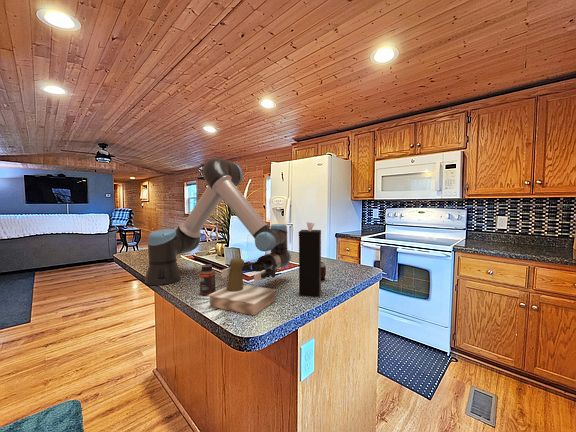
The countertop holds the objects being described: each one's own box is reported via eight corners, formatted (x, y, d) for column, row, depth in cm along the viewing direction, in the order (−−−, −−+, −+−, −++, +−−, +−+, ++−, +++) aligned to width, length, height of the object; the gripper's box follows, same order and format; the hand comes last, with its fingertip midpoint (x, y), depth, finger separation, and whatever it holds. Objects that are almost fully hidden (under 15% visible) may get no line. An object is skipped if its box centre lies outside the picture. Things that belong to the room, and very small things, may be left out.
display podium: (207, 306, 91) (207, 295, 91) (234, 293, 105) (234, 283, 105) (254, 316, 83) (254, 303, 83) (276, 300, 97) (276, 289, 97)
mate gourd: (326, 278, 125) (326, 246, 124) (325, 282, 117) (325, 249, 117) (310, 277, 127) (310, 246, 126) (308, 282, 119) (308, 249, 118)
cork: (241, 291, 94) (244, 260, 95) (225, 289, 94) (227, 259, 94) (244, 286, 101) (246, 257, 101) (228, 285, 100) (230, 256, 100)
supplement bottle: (216, 290, 108) (215, 263, 108) (214, 295, 102) (214, 266, 102) (201, 291, 107) (200, 263, 107) (198, 296, 101) (198, 267, 101)
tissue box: (319, 297, 100) (319, 223, 98) (298, 295, 101) (298, 223, 100) (321, 290, 107) (321, 221, 106) (301, 289, 109) (301, 221, 108)
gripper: (295, 275, 105) (269, 292, 86) (243, 269, 116) (210, 282, 96) (295, 256, 105) (269, 269, 85) (243, 252, 115) (209, 262, 96)
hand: (238, 276), depth 91 cm, fingers open, 13 cm apart
